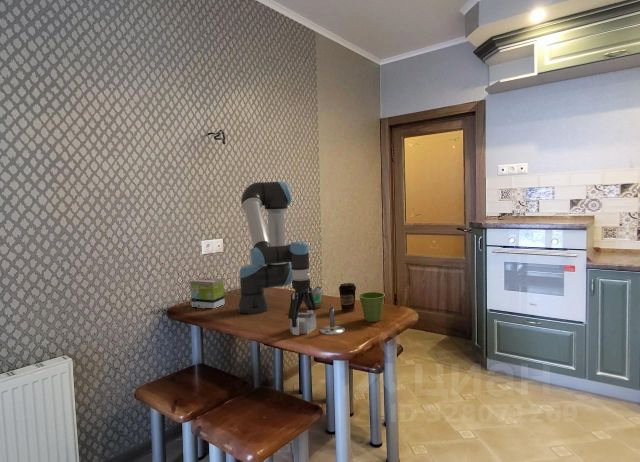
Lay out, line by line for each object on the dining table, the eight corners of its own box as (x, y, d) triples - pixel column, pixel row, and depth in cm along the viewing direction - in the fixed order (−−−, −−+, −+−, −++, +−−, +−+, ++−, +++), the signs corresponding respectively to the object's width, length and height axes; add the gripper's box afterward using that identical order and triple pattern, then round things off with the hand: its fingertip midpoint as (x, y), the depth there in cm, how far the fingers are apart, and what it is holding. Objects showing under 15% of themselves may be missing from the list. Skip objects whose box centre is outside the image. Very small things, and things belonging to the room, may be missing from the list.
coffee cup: (355, 313, 184) (354, 286, 183) (338, 312, 185) (337, 286, 184) (357, 308, 192) (356, 282, 191) (341, 307, 194) (340, 282, 193)
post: (316, 333, 157) (314, 306, 157) (326, 325, 166) (325, 300, 166) (338, 335, 153) (337, 308, 152) (348, 328, 162) (347, 302, 161)
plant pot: (365, 314, 180) (364, 291, 179) (390, 317, 174) (389, 292, 173) (354, 322, 170) (353, 296, 169) (380, 325, 164) (379, 299, 163)
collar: (290, 332, 160) (289, 317, 160) (299, 326, 168) (299, 312, 167) (307, 334, 157) (306, 319, 157) (316, 328, 164) (315, 314, 164)
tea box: (191, 308, 208) (189, 281, 207) (203, 303, 217) (201, 277, 216) (214, 309, 202) (212, 281, 201) (225, 304, 212) (223, 278, 211)
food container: (314, 312, 188) (313, 291, 188) (304, 310, 192) (303, 290, 191) (327, 305, 199) (327, 286, 198) (317, 304, 202) (316, 285, 201)
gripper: (294, 285, 148) (297, 340, 150) (321, 273, 170) (324, 321, 171) (277, 284, 152) (280, 338, 153) (306, 273, 173) (309, 320, 175)
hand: (303, 329), depth 162 cm, fingers open, 12 cm apart
